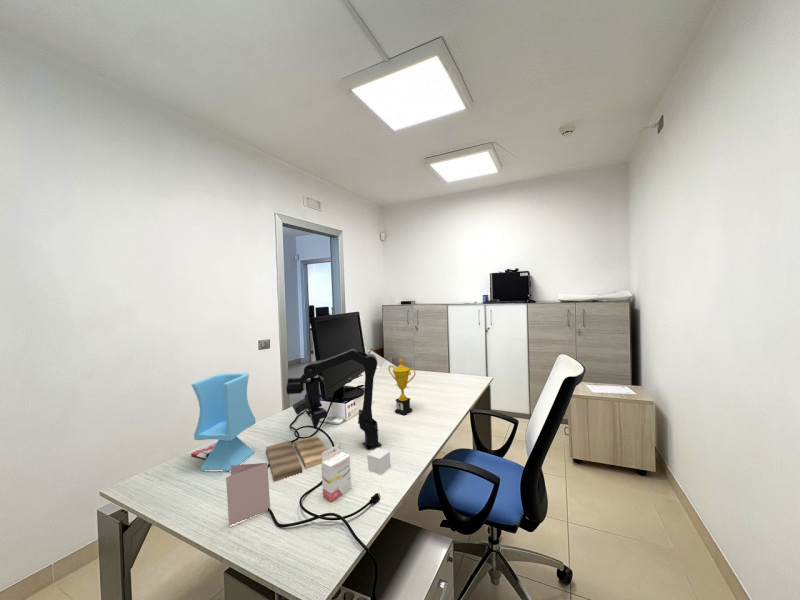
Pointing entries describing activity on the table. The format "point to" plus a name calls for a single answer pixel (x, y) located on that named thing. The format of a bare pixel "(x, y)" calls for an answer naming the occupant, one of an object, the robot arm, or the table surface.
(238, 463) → the blue pedestal chair
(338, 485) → the ink cartridge box
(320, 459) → the oak plank
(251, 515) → the greeting card
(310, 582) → the table surface
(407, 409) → the trophy
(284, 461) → the walnut board
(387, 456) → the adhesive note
